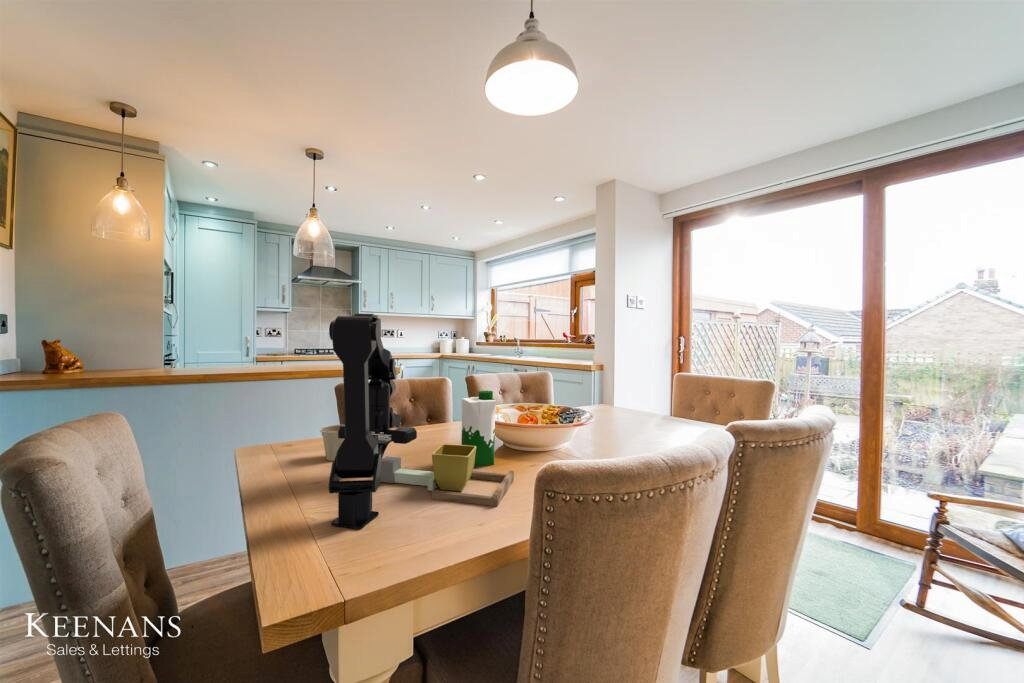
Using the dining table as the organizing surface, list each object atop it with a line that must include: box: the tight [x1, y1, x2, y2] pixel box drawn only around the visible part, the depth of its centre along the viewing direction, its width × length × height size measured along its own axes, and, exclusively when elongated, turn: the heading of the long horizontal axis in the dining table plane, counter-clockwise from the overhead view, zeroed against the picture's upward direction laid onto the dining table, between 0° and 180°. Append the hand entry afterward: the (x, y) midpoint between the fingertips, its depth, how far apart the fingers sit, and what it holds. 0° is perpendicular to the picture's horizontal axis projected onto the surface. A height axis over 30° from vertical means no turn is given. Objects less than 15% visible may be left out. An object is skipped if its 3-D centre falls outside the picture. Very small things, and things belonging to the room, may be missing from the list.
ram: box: [380, 455, 439, 492], centre depth 100 cm, size 8×15×5 cm, turn 77°
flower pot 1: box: [319, 424, 344, 462], centre depth 118 cm, size 9×9×9 cm
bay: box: [431, 470, 515, 507], centre depth 96 cm, size 15×15×2 cm
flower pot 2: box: [431, 443, 476, 492], centre depth 97 cm, size 9×9×9 cm
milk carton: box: [461, 390, 498, 468], centre depth 116 cm, size 9×9×20 cm
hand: (376, 467), depth 102 cm, fingers closed
